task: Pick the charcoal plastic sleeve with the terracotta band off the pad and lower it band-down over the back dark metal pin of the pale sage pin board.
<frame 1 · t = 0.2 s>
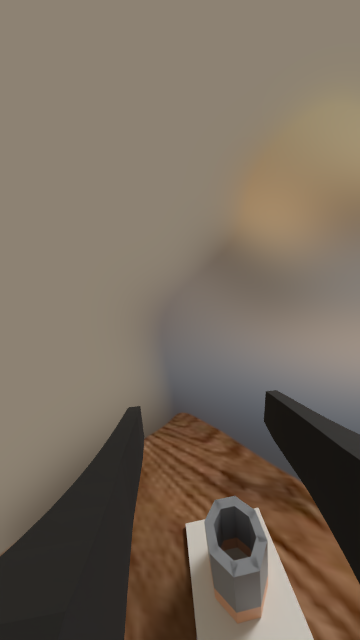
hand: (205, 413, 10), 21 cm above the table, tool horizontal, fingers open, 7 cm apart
sleeve: (237, 573, 18), resting on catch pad
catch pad: (237, 576, 18), on the table
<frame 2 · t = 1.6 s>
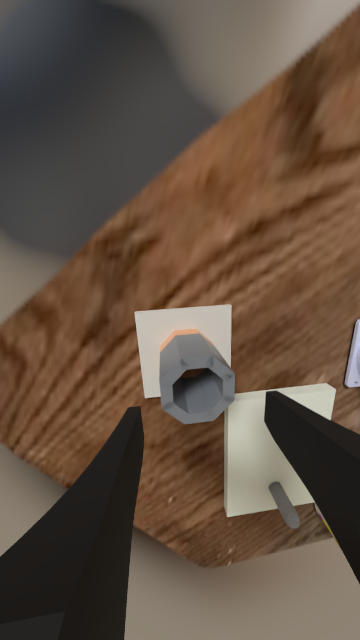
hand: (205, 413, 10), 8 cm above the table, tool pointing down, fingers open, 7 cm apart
pin board: (271, 448, 23), on the table
sleeve: (186, 353, 18), resting on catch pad
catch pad: (185, 351, 18), on the table
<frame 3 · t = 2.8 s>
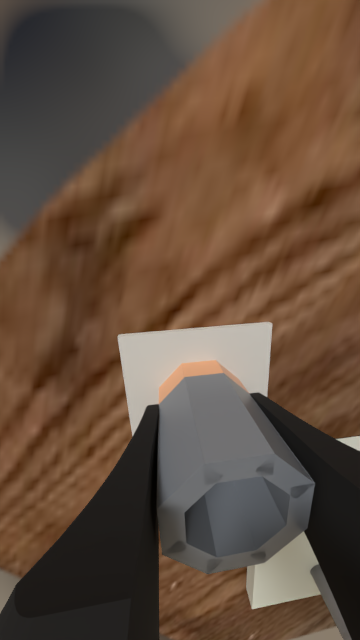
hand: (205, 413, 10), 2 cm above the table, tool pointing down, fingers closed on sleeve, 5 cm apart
pin board: (314, 516, 16), on the table
sleeve: (199, 397, 12), resting on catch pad, touching gripper
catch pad: (198, 393, 12), on the table
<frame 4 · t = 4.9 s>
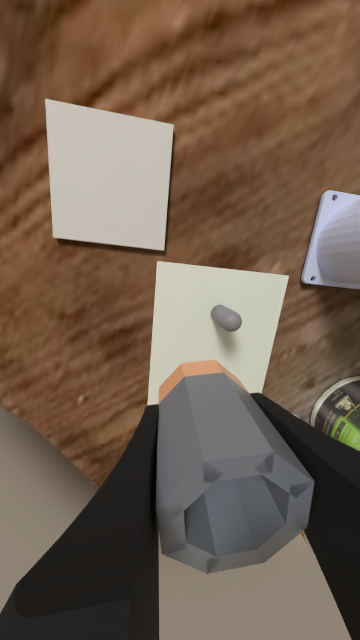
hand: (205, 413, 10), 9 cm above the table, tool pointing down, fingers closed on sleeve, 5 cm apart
pin board: (209, 352, 19), on the table
coffee can: (346, 410, 23), on the table
sleeve: (199, 397, 12), point 8 cm above the table, touching gripper
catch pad: (112, 185, 15), on the table
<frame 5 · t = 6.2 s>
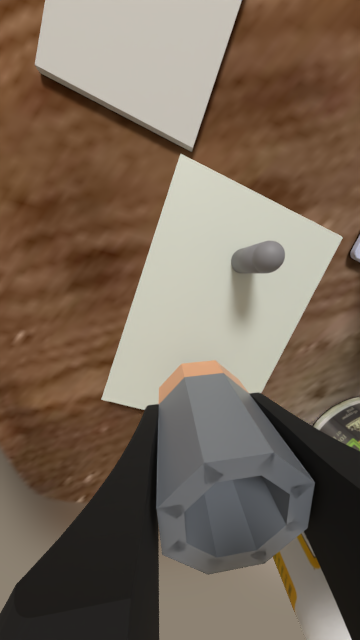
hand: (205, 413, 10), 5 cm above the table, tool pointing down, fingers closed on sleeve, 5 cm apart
pin board: (212, 318, 14), on the table
coffee can: (348, 436, 19), on the table
sleeve: (199, 397, 12), point 4 cm above the table, touching gripper
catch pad: (145, 20, 10), on the table
supplement bottle: (262, 441, 18), on the table
when the fingers open (4 cm above the table, at t = 7.1 s): sleeve stays where it is, resting on pin board.
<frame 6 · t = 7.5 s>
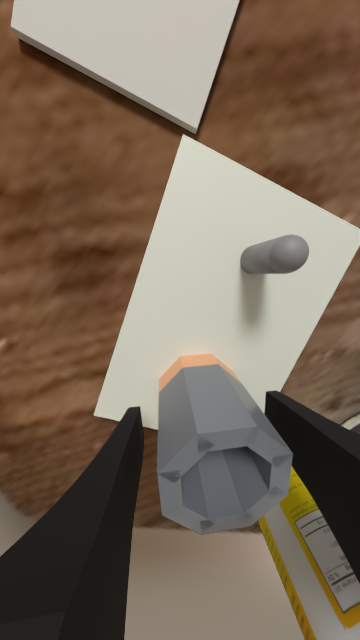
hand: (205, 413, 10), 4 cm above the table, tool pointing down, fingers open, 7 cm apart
pin board: (217, 323, 13), on the table
sleeve: (196, 388, 13), point 1 cm above the table, touching pin board
supplement bottle: (271, 456, 17), on the table
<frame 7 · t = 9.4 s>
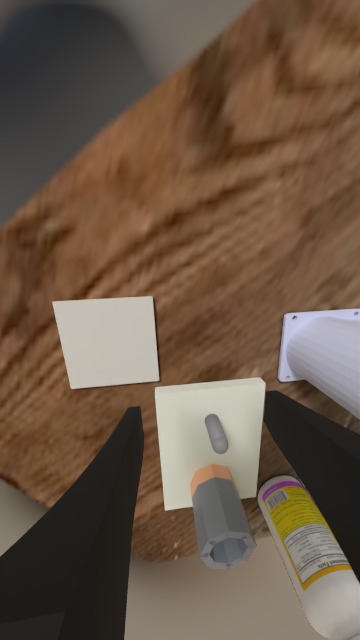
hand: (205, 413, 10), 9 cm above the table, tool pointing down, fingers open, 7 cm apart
pin board: (209, 442, 23), on the table
sleeve: (211, 480, 23), point 1 cm above the table, touching pin board
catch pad: (111, 343, 19), on the table
supplement bottle: (277, 488, 26), on the table
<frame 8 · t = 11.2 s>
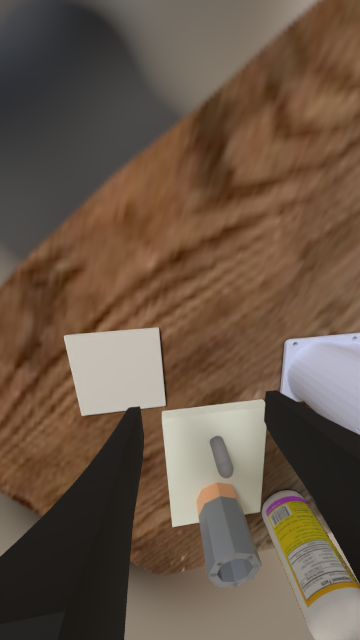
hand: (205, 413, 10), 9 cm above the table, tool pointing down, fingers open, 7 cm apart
pin board: (214, 461, 24), on the table
sleeve: (216, 497, 24), point 1 cm above the table, touching pin board
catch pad: (119, 371, 19), on the table
supplement bottle: (280, 502, 27), on the table
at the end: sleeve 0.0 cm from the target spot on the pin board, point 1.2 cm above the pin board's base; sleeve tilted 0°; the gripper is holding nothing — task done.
